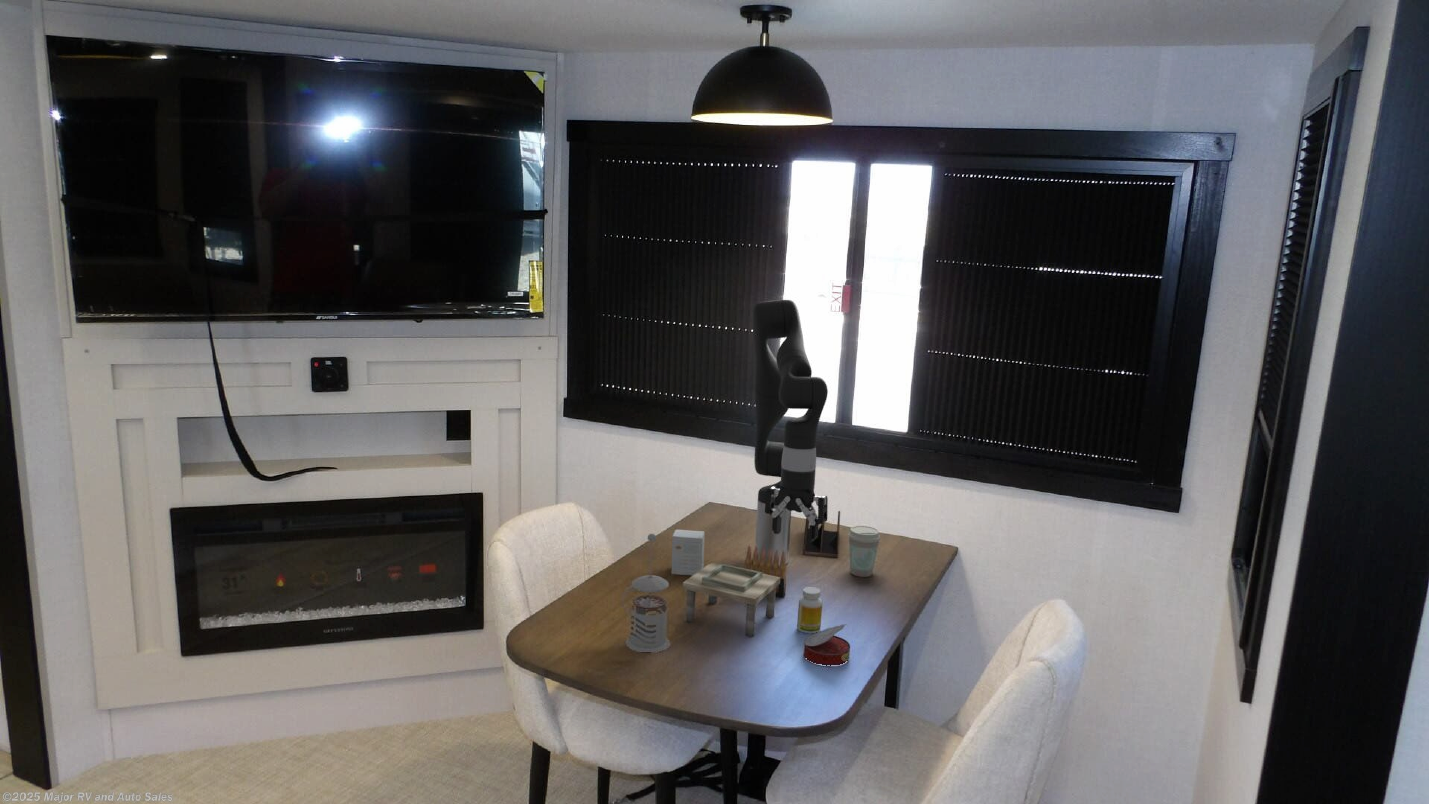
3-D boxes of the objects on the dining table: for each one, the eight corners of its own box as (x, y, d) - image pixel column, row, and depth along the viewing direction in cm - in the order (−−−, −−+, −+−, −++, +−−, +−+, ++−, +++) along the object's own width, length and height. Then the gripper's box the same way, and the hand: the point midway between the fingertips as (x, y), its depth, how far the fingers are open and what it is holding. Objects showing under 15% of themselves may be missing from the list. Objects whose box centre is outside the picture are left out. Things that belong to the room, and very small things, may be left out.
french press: (653, 657, 204) (657, 545, 199) (609, 642, 210) (612, 533, 205) (679, 641, 212) (683, 532, 207) (636, 627, 218) (640, 521, 213)
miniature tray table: (709, 599, 236) (711, 557, 233) (777, 615, 228) (780, 572, 226) (681, 621, 222) (683, 577, 220) (752, 639, 215) (755, 594, 213)
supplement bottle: (792, 626, 222) (795, 587, 221) (812, 623, 225) (815, 584, 223) (804, 635, 218) (807, 596, 216) (824, 632, 220) (827, 592, 218)
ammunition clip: (785, 595, 240) (788, 550, 238) (783, 598, 238) (786, 552, 236) (744, 588, 243) (746, 543, 241) (742, 591, 241) (744, 546, 239)
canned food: (823, 688, 204) (809, 654, 200) (801, 662, 213) (787, 629, 208) (867, 659, 207) (854, 625, 202) (843, 635, 215) (830, 602, 211)
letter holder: (802, 555, 269) (805, 507, 267) (805, 532, 289) (809, 487, 286) (838, 558, 268) (841, 510, 265) (839, 535, 287) (842, 490, 285)
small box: (703, 568, 255) (705, 531, 253) (701, 576, 250) (703, 538, 248) (673, 566, 256) (675, 528, 254) (670, 574, 251) (672, 535, 249)
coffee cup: (841, 575, 255) (844, 532, 253) (849, 565, 263) (852, 523, 261) (873, 581, 252) (877, 537, 250) (880, 570, 260) (884, 528, 258)
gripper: (835, 468, 212) (830, 538, 215) (777, 458, 219) (773, 527, 222) (821, 474, 206) (816, 547, 209) (762, 464, 213) (758, 535, 216)
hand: (794, 536), depth 215 cm, fingers open, 8 cm apart
